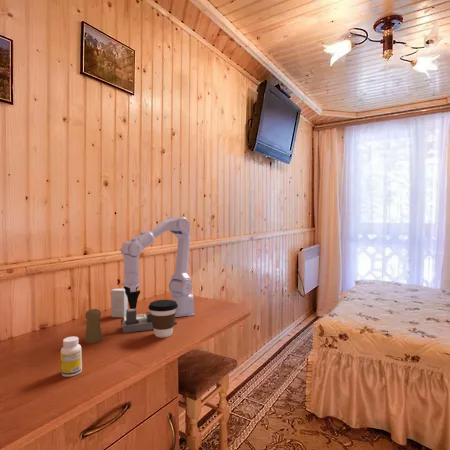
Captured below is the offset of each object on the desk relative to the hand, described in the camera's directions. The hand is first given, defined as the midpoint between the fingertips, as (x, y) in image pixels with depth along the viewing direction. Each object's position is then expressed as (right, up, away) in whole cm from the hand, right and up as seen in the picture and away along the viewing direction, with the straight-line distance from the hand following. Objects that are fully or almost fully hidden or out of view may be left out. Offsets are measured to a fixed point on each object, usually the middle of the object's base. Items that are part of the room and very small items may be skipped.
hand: (132, 306), depth 128 cm
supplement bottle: (-7, -10, -35) cm, 38 cm away
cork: (-11, -10, -11) cm, 18 cm away
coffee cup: (+13, -10, -6) cm, 18 cm away
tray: (-2, -9, +11) cm, 14 cm away
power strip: (+7, -9, +3) cm, 12 cm away
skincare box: (-10, -9, +17) cm, 21 cm away
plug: (0, -9, 0) cm, 9 cm away
